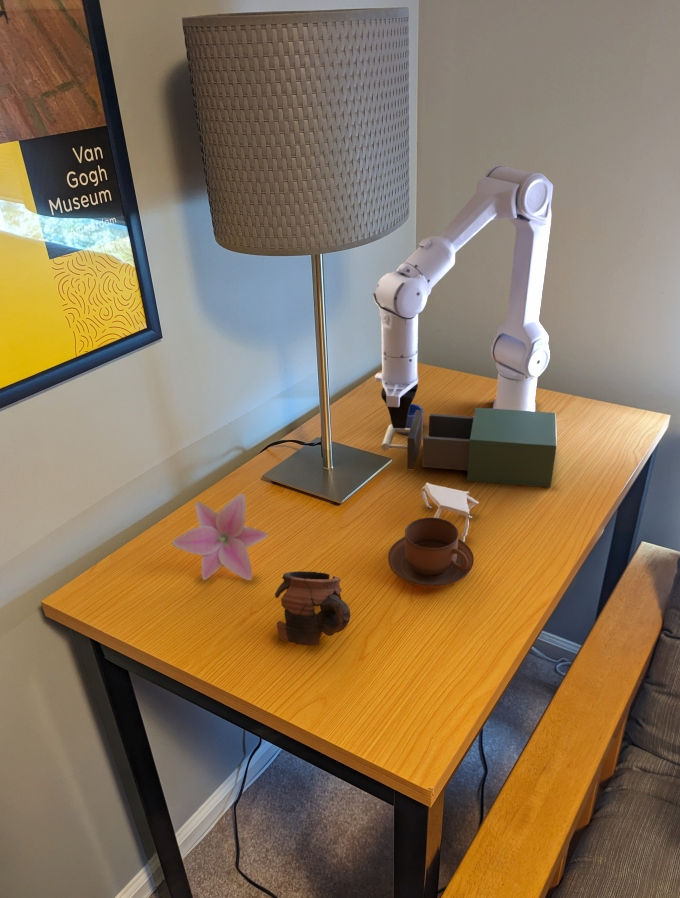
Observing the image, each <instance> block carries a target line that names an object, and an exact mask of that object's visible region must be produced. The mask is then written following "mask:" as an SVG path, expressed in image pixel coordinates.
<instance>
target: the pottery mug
mask: <svg viewBox="0 0 680 898" xmlns="http://www.w3.org/2000/svg"><path fill="white" fill-rule="evenodd" d="M330 577H331V576H330V573H326V572H319V571H304V570H303V571H301V570H300V571H299V570H298V571H297V570H296V571H288V572H285V573H283V575H282V577H281V579H282V580H283V582H282V583H280V584H279V586H278V587H277V589H276V591H275V592H274V597H275V599H278V598H279V597H280V596H281V594H282V593H283V596H282V597H281V598H280V601H281V606H282V608H284V620H285V622H284V621H281V620H278V621H276V629H277V634H278V638H279V639H280V640H282V641H285V642H288V643H292V644H296V645H302V646H319V645H320V643H321V637H322V634H324V635H325V636H327V637H332V636H333V635H334V634H337V633H341V632H342V631H344V630H345V629H346V628H347V626H348V624H349V623H350V621H351V609H350V606H349V605H348V604H347V603H346V602H345V601H344V600H343V599H342V597H341V593H342V590H343V588H342V587H340V583H341V578H340V577H339V576H335V575H333V576H332V578H331V579H330ZM315 607H319V609H320V611H318V612H317V613H316V609H315Z"/></svg>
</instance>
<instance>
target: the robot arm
mask: <svg viewBox="0 0 680 898" xmlns="http://www.w3.org/2000/svg"><path fill="white" fill-rule="evenodd" d="M553 191H554V184H553V183H552V182H551V181H550V180H549V179H548V178H547V177H546V175H545V174H543V173H540V172H530V171H526V170H522V169H516V168H511V167H508V166H506V165H502V164H497V165H494V166H491V168H489V169H488V171H486V173H485V174H484V175H483V176H482V177H481V178H480V179H479V180H477V184H476V190H475V193H474V194H473V195H472V196H471V198H470V199H469V200H468V202H467V203H466V204H465V205H464V206H463V207H462V209H461V210H460V211H459V212H458V214H456V216H455V217H454V218H453V220H452V221H451V222H450V223H449V224H448V226H447V227H446V228H445V229H444V231H442V233H441V234H440V235H438V236H434V235H433V236H432V235H430V236H429V237H427V238H423V239H422V240H421V241H420V242H419V243H418V247H417V248H416V249H415V250H414V251H413V252H412V254H410V255H409V257H407V259H406V260H404V262H403V263H401V264H400V265H399V266H398V268H397V269H396V271H391V272H387V273H386V274H384V275H383V276H382V277H381V278H380V279H379V280H378V281H377V283H376V286H375V291H373V292H372V298H373V302H374V303H375V304H376V306H377V307H378V309H379V317H380V318H381V368H382V369H381V372H377V373H376V374H375V376H374V381H375V382H379V383H381V385H382V389H381V392H380V396H381V399H382V400H383V402H384V403H385V405H386V408H387V410H388V414H389V418H390V423H391V424H392V426H393V428H398V429H405V427H406V424H407V421H408V416H409V411H410V406H411V404H413V401H414V400H415V398H416V394H417V392H418V387H419V384H418V383H419V375H418V356H419V355H418V354H419V353H418V352H419V351H418V348H419V347H418V344H419V314H420V313H421V312H423V310H424V309H425V307H426V305H427V302H428V297H429V296H430V294H431V291H432V289H433V288H434V287H435V286H436V284H437V283H438V282H440V280H441V279H443V277H444V276H445V275H446V274H448V272H449V271H450V270H451V269H452V268H453V267H454V266H455V264H456V253H457V252H458V251H459V250H460V249H461V248H463V246H465V244H467V243H468V242H469V241H470V240H471V239H472V238H473V237H474V236H475V235H477V234H478V233H479V232H480V231H481V230H482V229H483V228H484V227H485V226H487V224H489V223H490V222H491V221H493V220H509V221H510V223H511V224H512V225H513V226H514V227H515V239H514V248H513V256H512V257H513V259H512V269H511V277H510V286H509V298H508V307H507V317H506V319H505V320H504V321H503V322H501V323H500V324H498V325H497V327H496V331H495V336H494V339H493V341H492V343H491V347H490V355H491V356H490V357H491V359H492V360H493V362H495V369H497V370H498V372H497V381H496V394H495V398H494V399H493V405H492V409H505V410H520V411H535V412H536V402H535V400H536V391H537V384H538V377H540V376H541V375H542V373H543V372H544V371H545V370H546V368H547V367H548V365H549V362H550V357H551V353H550V348H549V335H548V332H547V331H546V330H545V328H544V326H543V325H542V324H541V323H540V321H539V319H540V311H541V304H542V295H543V287H544V280H545V273H546V265H547V264H546V263H547V255H548V249H549V247H548V246H549V241H550V240H549V239H550V231H551V224H552V200H553Z"/></svg>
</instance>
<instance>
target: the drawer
mask: <svg viewBox="0 0 680 898" xmlns="http://www.w3.org/2000/svg"><path fill="white" fill-rule="evenodd" d="M423 410H424V409H423ZM423 410H416V412H415V415H414V419H413V422H412V425H411V428H405V429H398V428H393V426H392V423H391V424H389V425H388V426H387V429H386V432H385V435H384V438H383V439H382V442H381V446H380V448H381V450H383V451H385V452H386V451H389V450H390V449H394V450H405V451H406V461H407V462H406V469H407V470H410V471H411V470H413V471H414V470H415V468H416V464H417V461H418V457H419V453H420V449H421V446H422V468H434V469H443V470H444V469H446V470H456V471H457V470H459V471H468V461H469V446H470V436H471V430H472V424H473V418H474V416H469V415H456V414H455V415H454V414H440V413H429V415H428V435H423V428H422V424H423V425H424V416H423ZM395 432H398V433H399V432H407V433H409V435H407V439H406V441H407V442H406V444H399V443H398V444H397V443H392V442H393V438H394V436H395Z"/></svg>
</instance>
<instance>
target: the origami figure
mask: <svg viewBox="0 0 680 898" xmlns="http://www.w3.org/2000/svg"><path fill="white" fill-rule="evenodd" d="M419 492H420V494H421V497H422V499H423V501H424V504H425V506H426V507H427V508H429V509H432V508H433V506H431V505H430V504H429V501H428V498H429V499H430V501H432V503H434V504H435V505H436V506H437V507H438V508H437V510H436V512H435V514H434V516H433V518H440V515H441V514H442V511H448V512H451V513H454V514H457V515H461V516H463V517H465V523H464V529H463V532H462V533H461V541H463V542H464V543H465V541H466V537H467V536H468V533H469V532H468V531H469V527H470V519H472V518H473V516H472V515H470V510H471V509H473V508H474V507H475V506H477V505H478V504H479V503H480V502H479V501H478V500H476V499H475V498H473V497H472V496H470V495H469V494H470V493H471V492H470V491H465V490H461V489H455V488H450V487H446V486H441V485H437V484H433V483H429V482H426V483H425V484H424V485H423V487H422V488H421V490H420V491H419ZM427 496H428V498H427Z"/></svg>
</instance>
